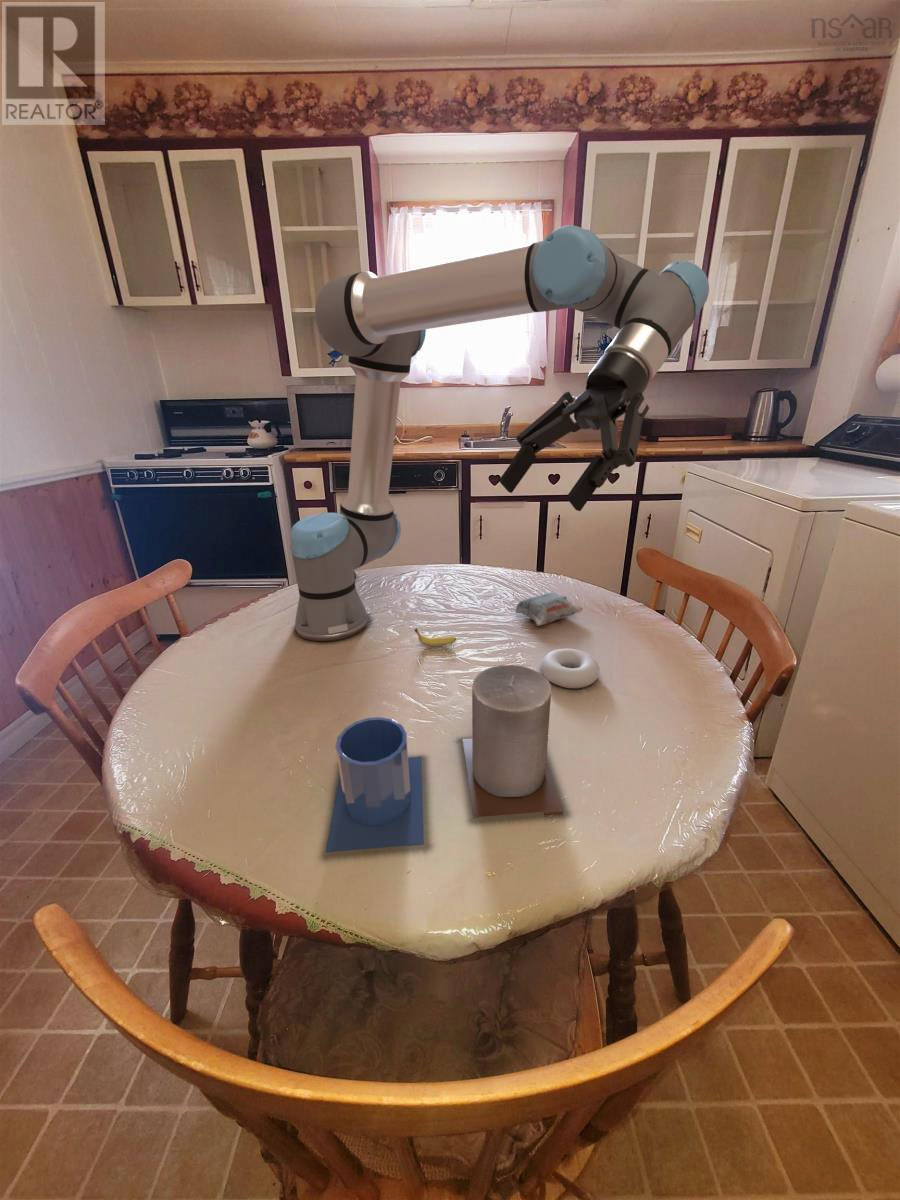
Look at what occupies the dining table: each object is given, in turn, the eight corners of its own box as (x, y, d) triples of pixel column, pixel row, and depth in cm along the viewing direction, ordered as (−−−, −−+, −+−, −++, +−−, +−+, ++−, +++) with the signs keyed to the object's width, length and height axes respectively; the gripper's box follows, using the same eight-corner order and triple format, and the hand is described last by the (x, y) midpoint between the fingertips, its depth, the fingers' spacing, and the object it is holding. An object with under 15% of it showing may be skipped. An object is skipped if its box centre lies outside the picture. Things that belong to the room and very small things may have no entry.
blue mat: (342, 764, 67) (341, 762, 67) (421, 759, 68) (421, 756, 67) (326, 855, 54) (325, 852, 54) (424, 846, 55) (423, 843, 55)
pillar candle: (502, 736, 71) (504, 647, 64) (560, 769, 64) (568, 675, 58) (456, 773, 64) (454, 678, 58) (515, 813, 58) (520, 712, 52)
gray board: (462, 741, 71) (461, 738, 70) (536, 736, 71) (536, 733, 71) (473, 820, 58) (473, 817, 58) (563, 813, 59) (563, 810, 58)
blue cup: (349, 777, 64) (340, 719, 60) (411, 772, 65) (406, 715, 61) (341, 829, 57) (331, 767, 53) (411, 823, 57) (406, 761, 53)
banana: (414, 648, 95) (413, 630, 94) (415, 644, 97) (414, 626, 95) (456, 648, 95) (455, 630, 93) (456, 644, 97) (456, 626, 95)
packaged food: (581, 619, 105) (583, 599, 103) (537, 633, 100) (538, 611, 98) (555, 605, 112) (556, 585, 110) (513, 617, 107) (513, 597, 105)
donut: (539, 690, 82) (600, 694, 80) (540, 672, 81) (602, 677, 79) (541, 659, 91) (596, 662, 89) (542, 643, 89) (598, 646, 87)
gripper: (720, 391, 59) (621, 531, 58) (571, 390, 78) (495, 495, 77) (702, 341, 54) (595, 493, 53) (548, 353, 74) (468, 465, 73)
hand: (536, 495), depth 65 cm, fingers open, 13 cm apart
